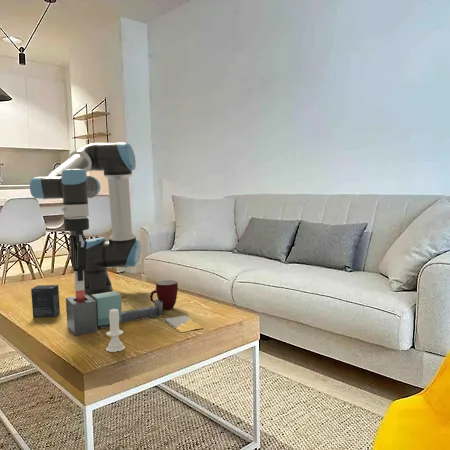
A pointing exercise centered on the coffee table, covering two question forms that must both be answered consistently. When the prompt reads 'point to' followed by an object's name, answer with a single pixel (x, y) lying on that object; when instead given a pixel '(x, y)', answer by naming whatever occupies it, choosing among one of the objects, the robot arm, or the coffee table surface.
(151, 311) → the rail
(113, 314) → the candle
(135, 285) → the coffee table surface
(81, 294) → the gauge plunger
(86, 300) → the gray button box
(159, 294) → the mug
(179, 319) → the smartphone
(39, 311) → the box
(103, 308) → the block
